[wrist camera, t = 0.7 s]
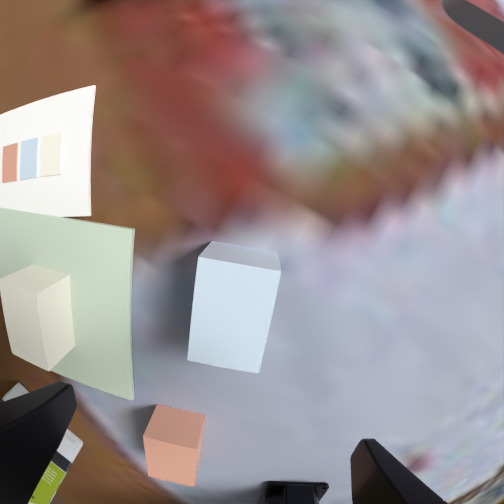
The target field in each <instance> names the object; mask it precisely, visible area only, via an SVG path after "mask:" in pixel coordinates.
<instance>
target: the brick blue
mask: <svg viewBox="0 0 504 504" xmlns="http://www.w3.org/2000/svg"><path fill="white" fill-rule="evenodd" d="M280 275H281V267H280V262H279V256H278V253H277V252H272V251H266V250H260V249H255V248H249V247H243V246H238V245H232V244H226V243H220V242H215V241H211V242H210V244H209V245H208V246H207V247H206V248H205V249H204V251H203V252H202V253H201V254H200V255H199V256H198V262H197V270H196V279H195V287H194V296H193V305H192V315H191V325H190V335H189V346H188V358H187V360H188V361H193V362H198V363H203V364H207V365H213V366H218V367H223V368H229V369H234V370H240V371H246V372H253V373H259V370H260V366H261V362H262V357H263V353H264V349H265V344H266V340H267V335H268V331H269V327H270V322H271V317H272V313H273V308H274V304H275V299H276V294H277V290H278V285H279V280H280Z"/></svg>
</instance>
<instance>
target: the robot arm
mask: <svg viewBox="0 0 504 504" xmlns="http://www.w3.org/2000/svg"><path fill="white" fill-rule="evenodd" d="M76 406H77V403H76V398H75V394H74V389H73V386H72V385H71V384H69V383H66V382H64V381H58V382H55V383H53V384H50V385H48V386H45V387H42V388H40V389H37V390H34V391H31V392H29V393H26V394H23V395H20V396H18V397H15V398H12V399H9V400H6V401H4V402H1V403H0V504H28V503H29V501H30V499H31V497H32V495H33V493H34V491H35V489H36V487H37V485H38V483H39V482H40V480H41V478H42V476H43V474H44V472H45V471H46V469H47V467H48V465H49V463H50V462H51V460H52V458H53V456H54V455H55V453H56V451H57V449H58V448H59V446H60V444H61V442H62V440H63V437H64V435H65V433H66V430H67V428H68V426H69V423H70V421H71V419H72V417H73V414H74V412H75V410H76ZM351 483H352V501H353V504H448V503H447V502H446V501H443V499H442V498H441V497H439V496H438V495H437V494H436V493H435V492H434V491H432V490H431V489H430V488H429V487H428V486H427V485H425V484H424V483H423V482H422V481H421V480H420V479H418V478H417V477H416V476H415V475H414V474H413V473H412V472H410V471H409V470H408V469H407V468H406V467H405V466H404V465H403V464H401V463H400V462H399V461H398V460H397V459H396V458H395V457H394V456H393V455H392V454H390V453H389V452H388V451H387V450H386V449H385V448H384V447H383V446H382V445H381V444H380V443H378V442H377V441H376V440H375V439H362V440H361V441H360V442H359V444H358V445H357V447H356V448H355V450H354V452H353V453H352V455H351ZM328 488H329V485H328V484H327V483H283V482H268V483H267V484H266V486H265V489H264V491H263V493H262V495H261V498H260V500H259V502H258V504H319V501H320V499H321V498H322V497H323V495H324V494H325V493H326V491H327V490H328Z"/></svg>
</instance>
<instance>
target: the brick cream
mask: <svg viewBox="0 0 504 504" xmlns="http://www.w3.org/2000/svg"><path fill="white" fill-rule="evenodd" d="M0 293H1V300H2V307H3V313H4V318H5V324H6V329H7V333H8V338H9V342H10V347H11V351H12V354H14V355H16V356H18V357H20V358H22V359H24V360H26V361H28V362H30V363H32V364H34V365H36V366H38V367H40V368H42V369H45V370H47V371H50V370H51V369H52V368H53V367H54V366H55V365H56V364H57V363H58V362H59V361H60V360H61V359H62V358H63V357H64V356H65V355H66V354H67V353H68V352H69V351H70V350H71V349H73V348H74V347H75V338H74V329H73V319H72V307H71V292H70V275H68V274H65V273H61V272H57V271H54V270H50V269H46V268H43V267H39V266H36V265H33V264H32V265H30V266H28V267H26V268H23V269H21V270H19V271H17V272H14V273H12V274H10V275H8V276H6V277H4V278H1V279H0Z"/></svg>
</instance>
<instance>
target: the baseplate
mask: <svg viewBox="0 0 504 504" xmlns="http://www.w3.org/2000/svg"><path fill="white" fill-rule="evenodd" d="M134 236H135V228H129V227H122V226H116V225H110V224H104V223H98V222H92V221H86V220H80V219H73V218H67V217H57V216H51V215H45V214H39V213H33V212H27V211H20V210H14V209H8V208H2V207H0V279H1V278H4V277H6V276H8V275H10V274H12V273H14V272H17V271H19V270H21V269H23V268H26V267H28V266H30V265H32V264H33V265H36V266H39V267H43V268H46V269H50V270H54V271H57V272H61V273H65V274H68V275H70V292H71V307H72V319H73V329H74V338H75V347H74V348H73V349H71V350H70V351H69V352H68V353H67V354H66V355H65V356H64V357H63V358H62V359H61V360H60V361H59V362H58V363H57V364H56V365H55V366H54V367H53V368H52V369H51V371H53V372H55V373H57V374H60V375H62V376H65V377H67V378H69V379H72V380H74V381H77V382H79V383H82V384H85V385H87V386H90V387H93V388H95V389H98V390H101V391H104V392H107V393H110V394H113V395H116V396H119V397H122V398H125V399H128V400H132V401H133V400H134V398H135V397H134V383H133V366H132V335H131V300H132V268H133V250H134Z"/></svg>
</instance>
